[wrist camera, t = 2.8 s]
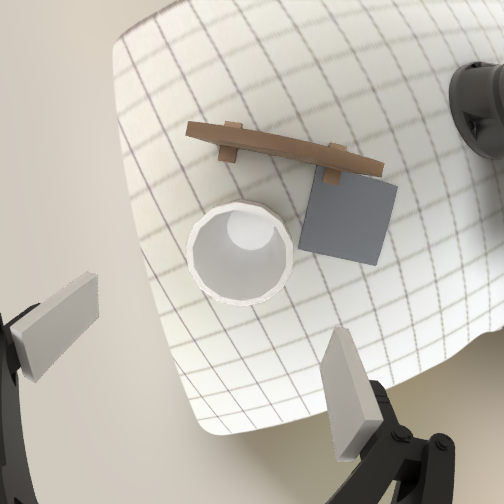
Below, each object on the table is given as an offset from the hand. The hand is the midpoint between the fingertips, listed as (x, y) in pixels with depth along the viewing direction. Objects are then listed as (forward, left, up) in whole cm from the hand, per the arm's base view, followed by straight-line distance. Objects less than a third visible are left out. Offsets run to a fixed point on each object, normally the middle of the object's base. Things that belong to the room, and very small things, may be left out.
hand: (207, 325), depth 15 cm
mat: (-4, +12, -24) cm, 28 cm away
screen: (-10, +2, -24) cm, 26 cm away
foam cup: (0, 0, -25) cm, 25 cm away
